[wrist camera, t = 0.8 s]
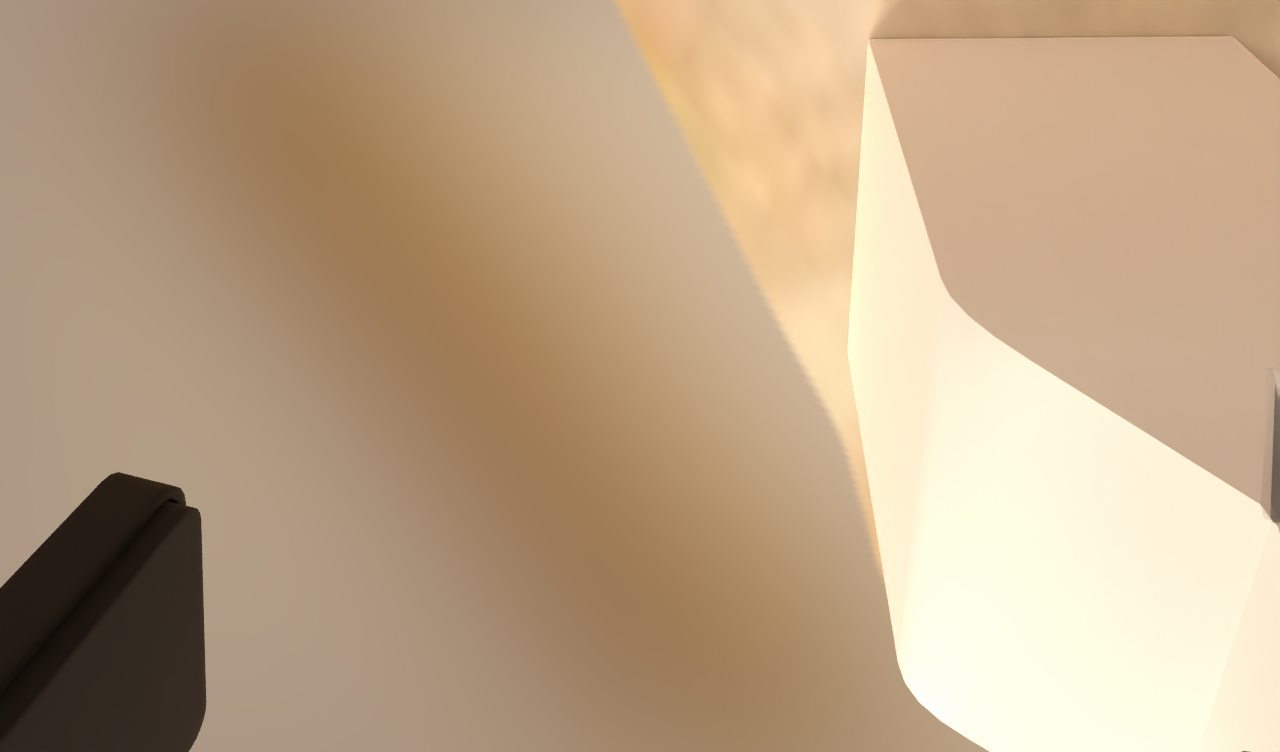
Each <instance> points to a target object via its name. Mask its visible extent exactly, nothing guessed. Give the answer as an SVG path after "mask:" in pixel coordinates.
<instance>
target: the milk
mask: <svg viewBox="0 0 1280 752" xmlns="http://www.w3.org/2000/svg"><path fill="white" fill-rule="evenodd" d="M848 357H849V363H850V370H851V376H852V382H853V388H854V394H855V400H856V406H857V413H858V419H859V425H860V431H861V437H862V443H863V450H864V456H865V462H866V468H867V474H868V480H869V487H870V493H871V499H872V505H873V511H874V517H875V524H876V530H877V536H878V542H879V548H880V554H881V560H882V567H883V573H884V579H885V585H886V591H887V597H888V604H889V610H890V616H891V622H892V628H893V634H894V641H895V646H896V653H897V659H898V663H899V666H900V669H901V672H902V675H903V678H904V681H905V683H906V685H907V686H908V687H909V689H910V690H911V692H912V693H913V694H914V696H915V697H916V698H917V700H918V701H919V702H920V703H921V704H922V705H923V706H924V707H926V708H927V709H928V710H929V711H930V712H931V713H933V714H934V715H935V716H936V717H937V718H938V719H939V720H940V721H942V722H944V723H945V724H947V725H948V726H950V727H951V728H953V729H954V730H956V731H958V732H959V733H960V734H962V735H963V736H965V737H966V738H968V739H970V740H971V741H973V742H975V743H976V744H978V745H980V746H982V747H983V748H985V749H987V750H988V751H990V752H1242V751H1248V752H1280V79H1279V78H1278V77H1277V76H1276V75H1275V74H1273V73H1272V72H1271V71H1270V70H1269V69H1268V68H1267V67H1266V66H1265V65H1264V64H1263V63H1261V62H1260V61H1259V60H1258V59H1257V58H1256V57H1255V56H1254V55H1253V54H1252V53H1251V52H1249V51H1248V50H1247V49H1246V48H1245V47H1244V46H1243V45H1242V44H1241V43H1240V42H1239V41H1237V40H1236V39H1235V38H1234V37H1233V36H1178V37H1058V38H937V39H868V51H867V66H866V81H865V96H864V111H863V126H862V141H861V157H860V172H859V187H858V202H857V217H856V232H855V247H854V262H853V277H852V292H851V307H850V322H849V337H848Z"/></svg>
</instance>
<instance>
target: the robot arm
mask: <svg viewBox="0 0 1280 752" xmlns="http://www.w3.org/2000/svg"><path fill="white" fill-rule="evenodd" d="M205 710H206V679H205V644H204V608H203V571H202V535H201V516H200V512H199V511H198V509H196V508H193V507H189V506H186V501H185V495H184V493H183V491H182V490H181V488H179V487H175V486H171V485H167V484H164V483H160V482H155V481H151V480H147V479H143V478H139V477H135V476H131V475H127V474H123V473H119V472H118V473H114V474H111V475H109V476H108V477H107V478H106V479H105V480H104V481H102V482H101V483H100V484H99V485H98V486H97V488H95V489H94V490H93V492H92V493H91V494H90V495H89V496H88V497H87V498H86V499H85V500H84V501H83V502H82V503H81V504H80V505H79V506H78V507H77V508H76V509H75V510H74V511H73V512H72V513H71V515H70V516H69V517H68V518H67V519H66V520H65V521H64V522H63V523H62V524H61V525H60V526H59V527H58V528H57V529H56V530H55V531H54V532H53V533H52V534H51V536H50V537H49V538H48V539H47V540H46V541H45V542H44V543H43V544H42V545H41V546H40V547H39V548H38V549H37V550H36V552H34V553H33V554H32V555H31V557H30V558H29V559H28V560H27V561H26V562H25V563H24V564H23V565H22V566H21V567H20V568H19V569H18V570H17V571H16V572H15V573H14V575H12V576H11V578H10V579H9V580H8V581H7V582H6V583H5V584H4V585H3V586H2V587H1V588H0V752H189V750H190V749H191V747H192V745H193V743H194V742H195V740H196V738H197V735H198V733H199V731H200V728H201V725H202V722H203V719H204V715H205ZM1242 752H1248V751H1242Z"/></svg>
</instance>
